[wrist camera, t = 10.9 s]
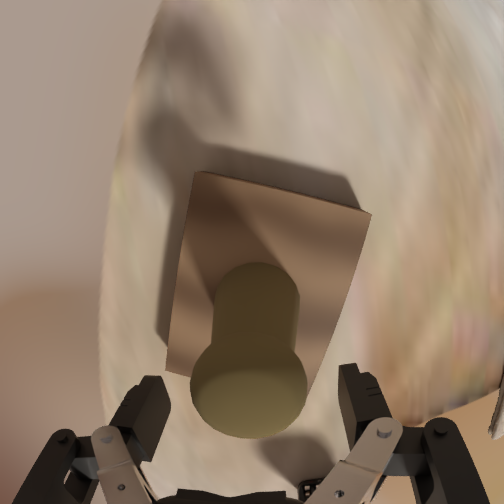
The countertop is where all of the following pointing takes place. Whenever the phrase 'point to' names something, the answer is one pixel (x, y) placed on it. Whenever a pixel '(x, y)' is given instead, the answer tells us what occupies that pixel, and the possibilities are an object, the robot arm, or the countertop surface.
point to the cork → (251, 355)
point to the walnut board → (263, 260)
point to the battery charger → (307, 489)
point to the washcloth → (498, 416)
